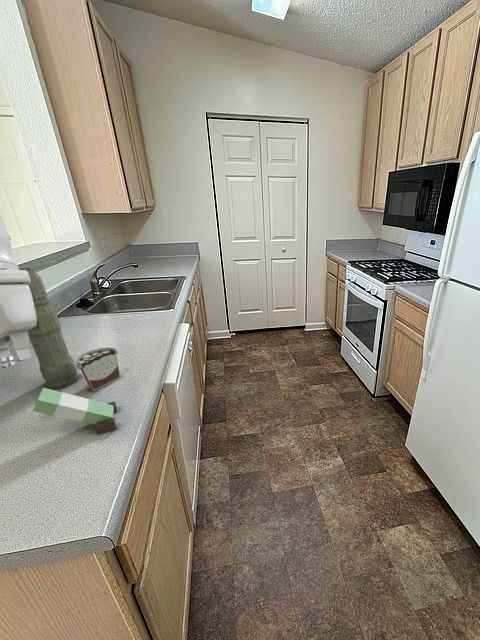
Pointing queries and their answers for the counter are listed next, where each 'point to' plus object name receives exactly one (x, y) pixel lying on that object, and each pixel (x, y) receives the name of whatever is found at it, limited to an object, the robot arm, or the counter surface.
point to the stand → (107, 422)
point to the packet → (72, 407)
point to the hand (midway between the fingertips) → (16, 363)
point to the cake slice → (99, 367)
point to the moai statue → (49, 339)
